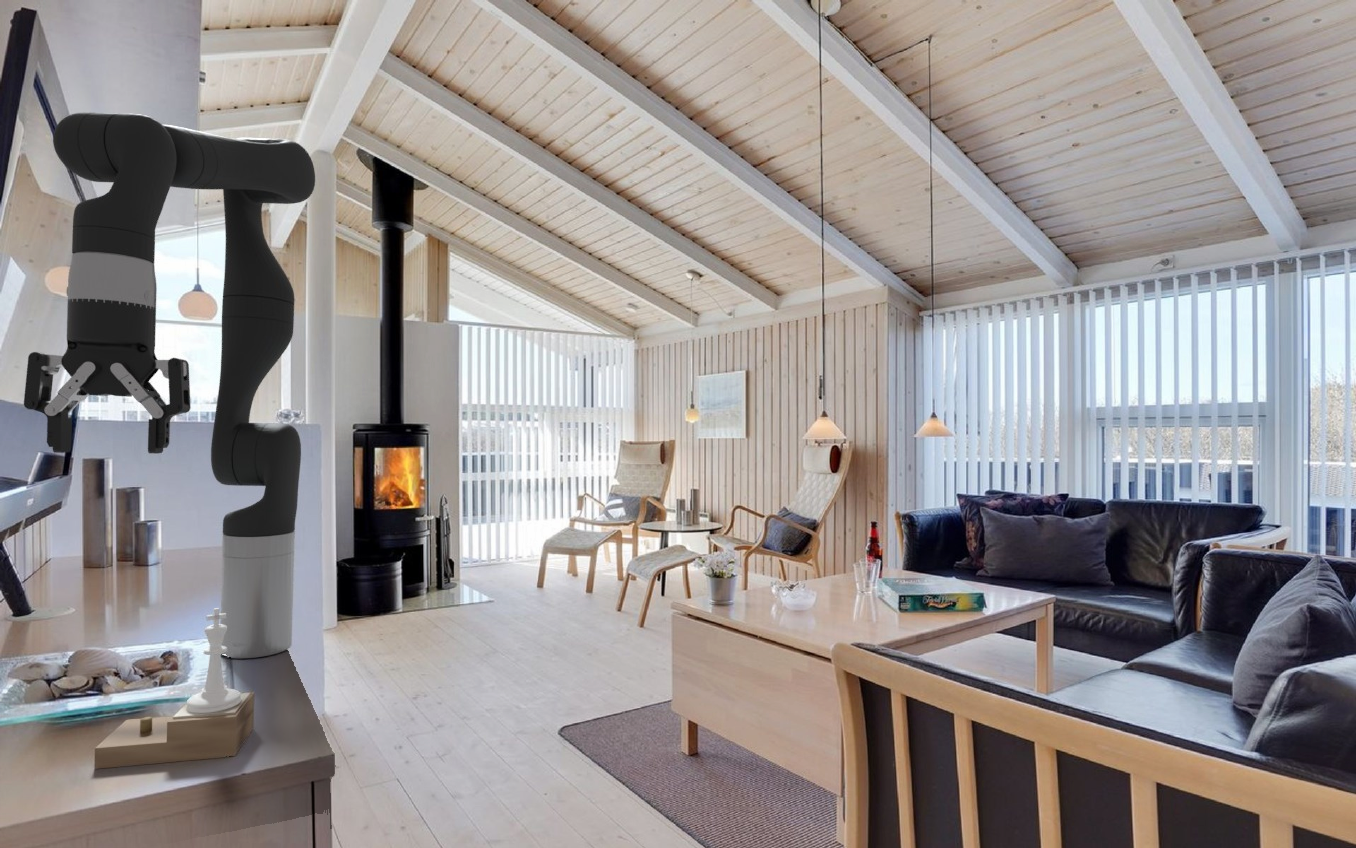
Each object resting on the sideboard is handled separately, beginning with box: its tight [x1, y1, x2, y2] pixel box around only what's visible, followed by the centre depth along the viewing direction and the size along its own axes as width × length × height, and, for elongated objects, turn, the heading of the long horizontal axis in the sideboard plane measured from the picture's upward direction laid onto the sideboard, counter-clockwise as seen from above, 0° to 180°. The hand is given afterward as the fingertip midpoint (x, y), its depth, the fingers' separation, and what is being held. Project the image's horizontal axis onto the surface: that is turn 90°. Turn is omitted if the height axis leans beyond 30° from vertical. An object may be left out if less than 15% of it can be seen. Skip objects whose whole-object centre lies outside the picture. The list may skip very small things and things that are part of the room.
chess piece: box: [186, 607, 242, 713], centre depth 77 cm, size 5×5×10 cm
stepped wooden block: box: [93, 691, 256, 770], centre depth 76 cm, size 7×12×4 cm, turn 106°
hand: (109, 452), depth 79 cm, fingers open, 8 cm apart
